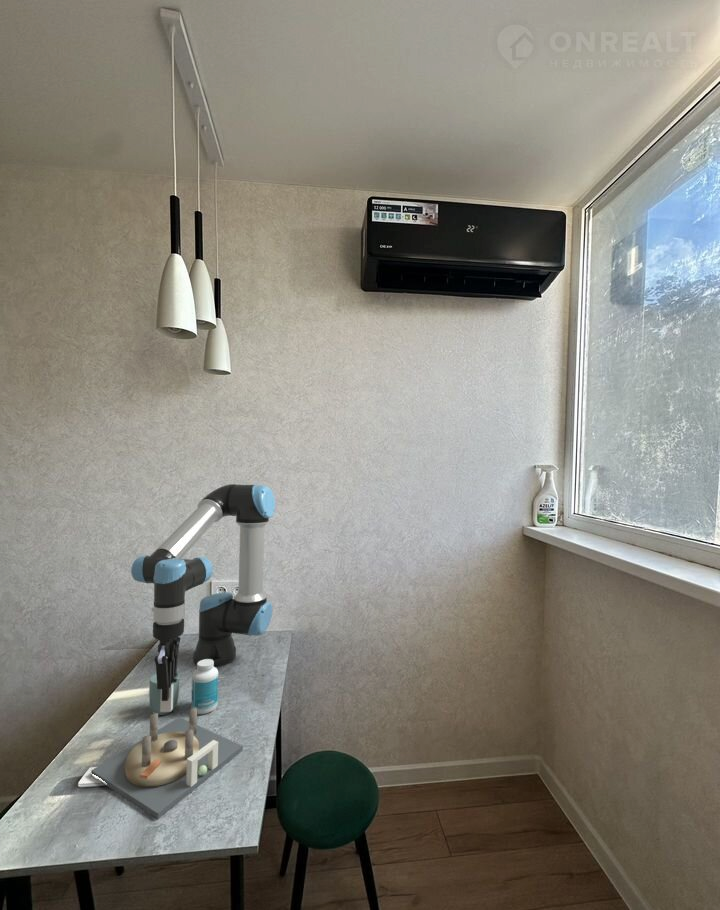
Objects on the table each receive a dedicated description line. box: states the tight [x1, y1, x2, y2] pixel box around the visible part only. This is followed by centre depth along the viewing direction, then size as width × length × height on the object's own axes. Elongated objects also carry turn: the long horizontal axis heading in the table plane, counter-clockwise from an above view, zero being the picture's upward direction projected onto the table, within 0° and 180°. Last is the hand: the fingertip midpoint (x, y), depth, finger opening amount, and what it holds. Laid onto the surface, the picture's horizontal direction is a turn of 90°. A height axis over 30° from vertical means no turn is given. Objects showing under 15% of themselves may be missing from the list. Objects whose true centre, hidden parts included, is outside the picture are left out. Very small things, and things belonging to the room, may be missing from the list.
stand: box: [90, 716, 244, 820], centre depth 104 cm, size 24×24×7 cm
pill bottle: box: [190, 659, 219, 715], centre depth 126 cm, size 8×7×14 cm
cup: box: [148, 671, 180, 716], centre depth 125 cm, size 8×8×10 cm
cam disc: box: [125, 707, 199, 787], centre depth 102 cm, size 17×16×8 cm
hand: (166, 710), depth 112 cm, fingers closed
